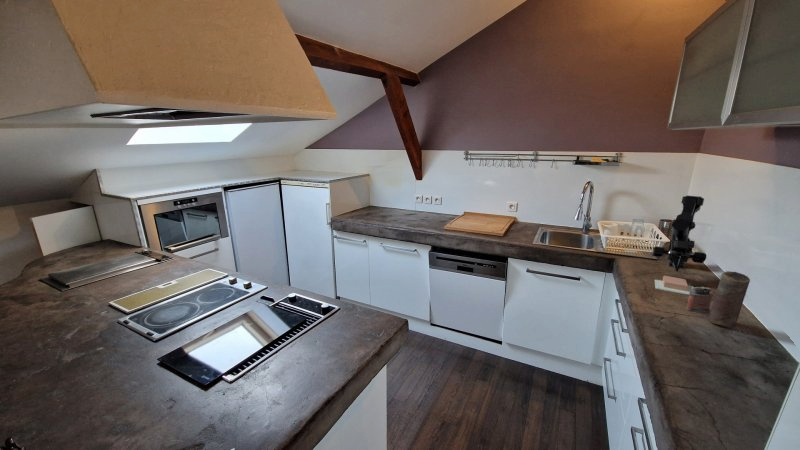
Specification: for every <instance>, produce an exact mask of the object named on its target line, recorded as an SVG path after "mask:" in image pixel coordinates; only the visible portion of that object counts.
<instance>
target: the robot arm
mask: <svg viewBox="0 0 800 450" xmlns="http://www.w3.org/2000/svg"><path fill="white" fill-rule="evenodd" d="M704 202H705V198H703V196H697V195H695V196H694V195H685V196H682V198H681V203H680V204H682V211H681V212H680V214H678V215H677V216H676V218H675V219H673V221H672V223H671V227H672V229H671V241H670V242H669V245H668V250H667V249H665V248H666V247H662V246H654V248H653V249H652V255H651V256H653V257H658V258H661V257H663V255H666V256H667V258H666V259H667V261H668V266H670V267H673V269H674V271H675V272H679V270H680V268H683V269H685V268H686V265H685V263H687V262H688V261H689V259H691V261H692V262H694V263H699V264H704V262H705V261H706V259H707V254H706V253H705V252H700V251H694V252H693V249H694V247H695V240H691V239H690V238H689V236H690V232H691V230H694V229H695V227H696V225H697V224H696V222H695V221H694V217H695V214H696V213H698V212H699V211H700V210H701V207H703V206H704Z"/></svg>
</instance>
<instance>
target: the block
mask: <svg viewBox="0 0 800 450" xmlns="http://www.w3.org/2000/svg"><path fill="white" fill-rule="evenodd" d="M662 281H663V286H664V287H666V288H671V289H677V290H682V291H687V287H688V286H689V285H688V282H687V280H686V279H685V278H679V277H675V276H669V275H663V277H662ZM687 285H688V286H687Z"/></svg>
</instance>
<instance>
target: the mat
mask: <svg viewBox="0 0 800 450" xmlns="http://www.w3.org/2000/svg"><path fill="white" fill-rule="evenodd" d="M654 286H655V290H656V289H657V290H661V291H667V292H671V293H677V294H682V295H687V296H689V295H690V294H689V292H691V291H693V288H694V286H693V285H688V284H687V286H688V287H687V291H682V290H677V289H671V288H666V287H664V286H663V280H661V279H654Z"/></svg>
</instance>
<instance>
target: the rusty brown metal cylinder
mask: <svg viewBox="0 0 800 450" xmlns="http://www.w3.org/2000/svg"><path fill="white" fill-rule="evenodd" d="M750 282H751V279H750V278H749V276H747V275H745V274H743V273H741V272H738V271H728V270H727V271H724V272H722V274H721V277H720V279H719V284H718V286H717V289H716V292H715V296H714V299H713V302H712V305H711V309H710V310H709V315H708V317H707V318H708V321H709V322H710V323H712V324H716V325H719V326H721V327H724V328H733V327H736V325H737V323H738V319H739V317H740V313H741V310H742V307H743V303H744V300H745V298H746V294H747V291H748V288H749V285H750Z"/></svg>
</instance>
